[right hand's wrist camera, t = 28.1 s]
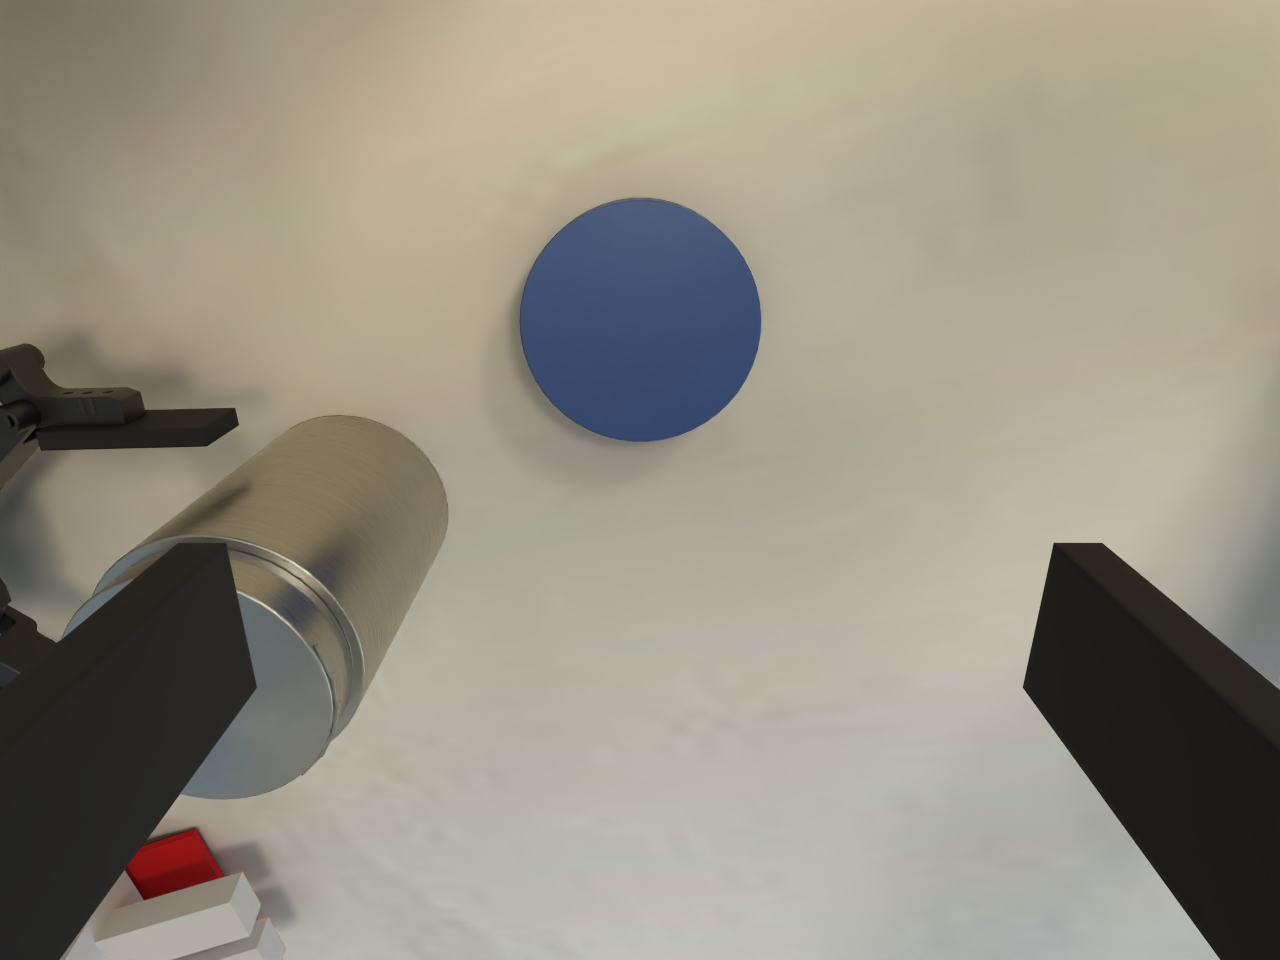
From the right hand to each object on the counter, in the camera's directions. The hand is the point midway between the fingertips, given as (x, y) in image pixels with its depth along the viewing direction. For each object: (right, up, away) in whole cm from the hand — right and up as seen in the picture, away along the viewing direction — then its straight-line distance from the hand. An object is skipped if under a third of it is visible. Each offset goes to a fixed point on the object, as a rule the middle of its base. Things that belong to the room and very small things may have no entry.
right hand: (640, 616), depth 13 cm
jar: (-15, +1, +28) cm, 31 cm away
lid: (0, +9, +22) cm, 24 cm away
